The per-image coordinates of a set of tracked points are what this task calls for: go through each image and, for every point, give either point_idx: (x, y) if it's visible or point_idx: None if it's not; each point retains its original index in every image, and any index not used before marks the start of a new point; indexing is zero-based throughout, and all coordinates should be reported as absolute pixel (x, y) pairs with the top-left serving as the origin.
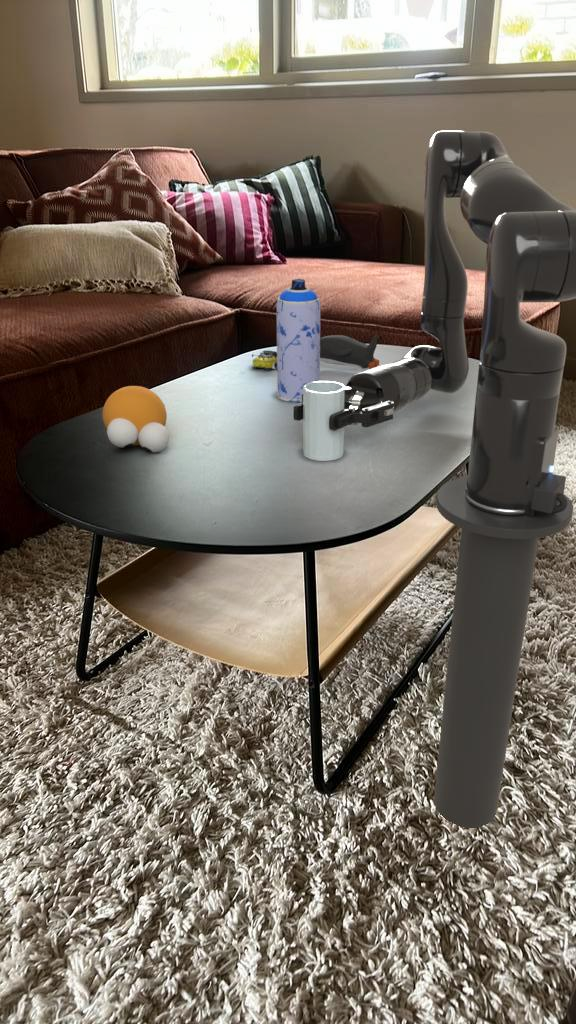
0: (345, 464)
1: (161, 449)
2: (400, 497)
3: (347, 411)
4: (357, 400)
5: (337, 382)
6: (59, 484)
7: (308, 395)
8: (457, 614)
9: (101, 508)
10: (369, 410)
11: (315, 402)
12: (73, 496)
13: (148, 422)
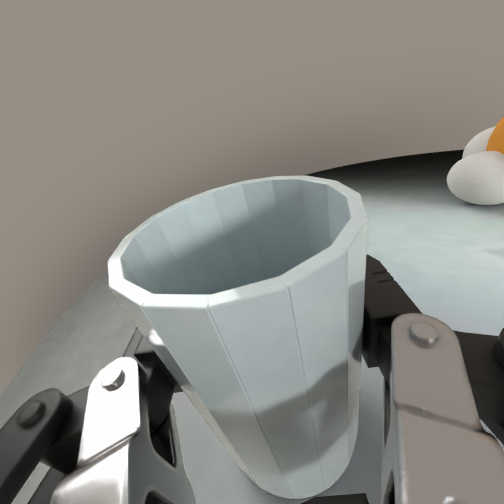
0: None
1: (459, 198)
2: (52, 354)
3: (141, 342)
4: (82, 473)
5: (210, 306)
6: (395, 163)
7: (254, 197)
8: None
9: (323, 177)
10: (15, 413)
11: (228, 224)
12: (360, 168)
13: (494, 148)
